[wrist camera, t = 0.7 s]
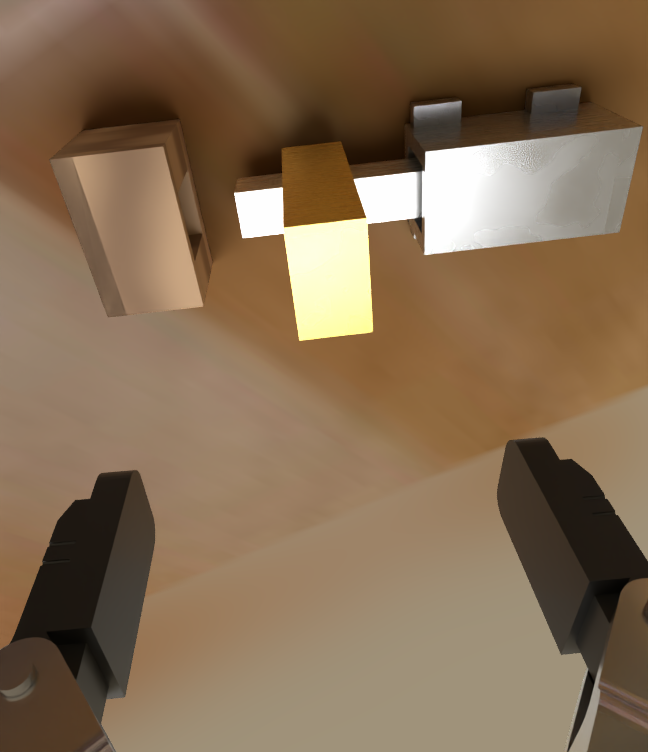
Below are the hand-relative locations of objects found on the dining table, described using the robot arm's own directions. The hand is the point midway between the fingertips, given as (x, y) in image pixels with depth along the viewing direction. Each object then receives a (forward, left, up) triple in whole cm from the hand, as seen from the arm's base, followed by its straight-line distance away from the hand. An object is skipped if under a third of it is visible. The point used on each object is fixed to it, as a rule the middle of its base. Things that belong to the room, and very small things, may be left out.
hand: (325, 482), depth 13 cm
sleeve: (-10, +1, -23) cm, 25 cm away
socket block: (+8, +1, -23) cm, 24 cm away
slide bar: (-5, +1, -21) cm, 22 cm away
